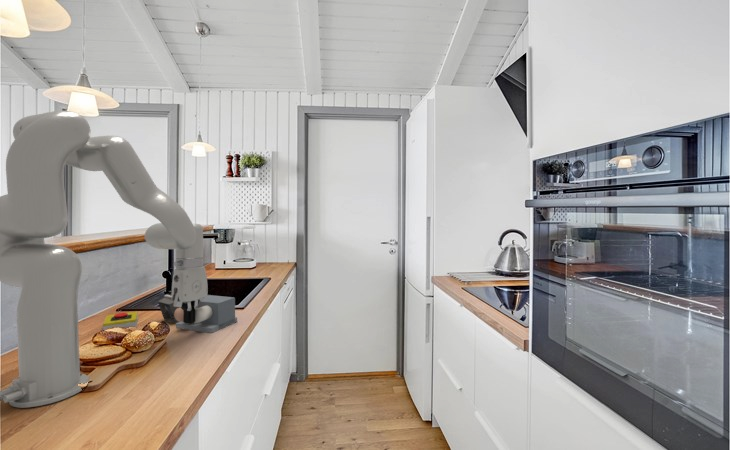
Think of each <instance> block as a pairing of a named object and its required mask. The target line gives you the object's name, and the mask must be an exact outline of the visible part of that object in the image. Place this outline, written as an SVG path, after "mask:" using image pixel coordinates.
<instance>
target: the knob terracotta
mask: <svg viewBox="0 0 730 450" xmlns="http://www.w3.org/2000/svg"><path fill="white" fill-rule="evenodd" d="M174 316H175V319H176V320H177V321H179V322H182V321H183V310H182V309H181V308H177V309H176V310H175V312H174Z"/></svg>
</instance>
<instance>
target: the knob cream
mask: <svg viewBox="0 0 730 450" xmlns="http://www.w3.org/2000/svg"><path fill="white" fill-rule="evenodd" d="M212 315H213V311H212V309H211V307H210V306H207V305H206V306H203V307H200V308H197V309H195V322H194V323H199V322H201V321H204V320H207V319H209V318H211V317H212Z"/></svg>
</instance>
